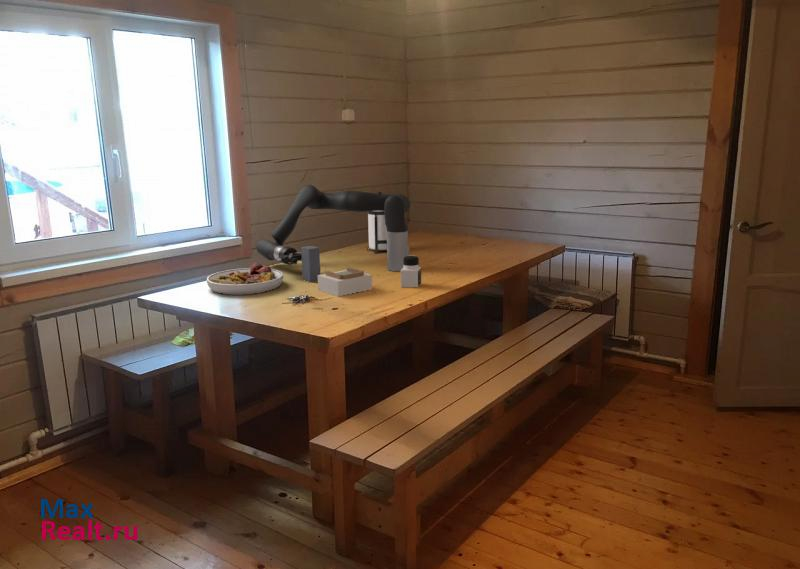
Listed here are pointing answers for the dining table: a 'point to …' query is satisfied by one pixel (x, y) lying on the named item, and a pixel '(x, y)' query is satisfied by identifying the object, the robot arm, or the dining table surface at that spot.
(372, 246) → the coffee press
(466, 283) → the dining table surface
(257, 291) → the bowl
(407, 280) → the medicine bottle
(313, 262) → the grey tall block
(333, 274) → the stand
